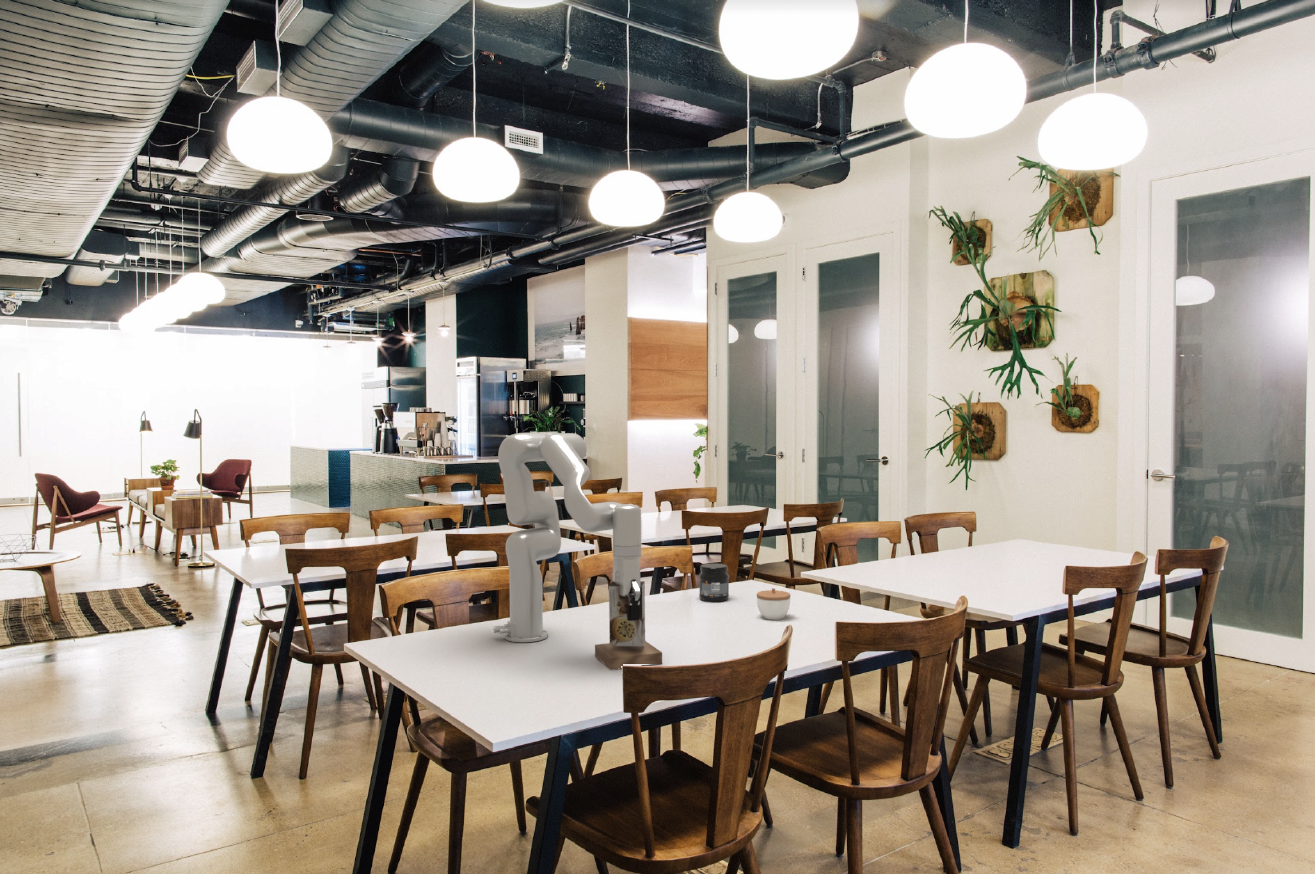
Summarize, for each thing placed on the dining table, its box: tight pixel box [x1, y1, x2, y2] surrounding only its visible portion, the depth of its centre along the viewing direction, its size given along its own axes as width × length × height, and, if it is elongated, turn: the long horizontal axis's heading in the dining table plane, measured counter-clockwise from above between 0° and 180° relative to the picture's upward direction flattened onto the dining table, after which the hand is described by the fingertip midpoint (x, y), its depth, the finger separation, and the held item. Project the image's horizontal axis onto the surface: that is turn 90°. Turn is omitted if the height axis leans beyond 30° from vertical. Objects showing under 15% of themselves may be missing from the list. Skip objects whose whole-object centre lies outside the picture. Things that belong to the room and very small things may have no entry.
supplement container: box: [698, 563, 730, 603], centre depth 298 cm, size 10×10×12 cm
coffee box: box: [608, 580, 646, 646], centre depth 223 cm, size 9×6×16 cm
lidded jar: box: [756, 587, 791, 621], centre depth 270 cm, size 11×11×9 cm
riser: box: [594, 640, 663, 671], centre depth 224 cm, size 14×14×3 cm
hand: (627, 616), depth 223 cm, fingers closed on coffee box, 8 cm apart
